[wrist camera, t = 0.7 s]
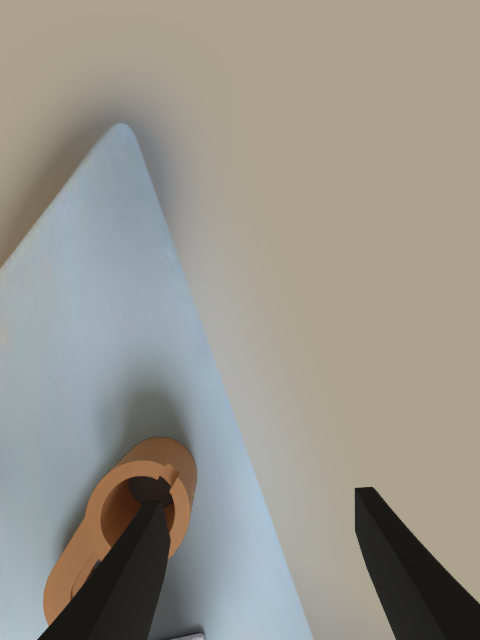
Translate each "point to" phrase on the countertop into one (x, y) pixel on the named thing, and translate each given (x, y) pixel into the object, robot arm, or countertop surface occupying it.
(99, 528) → the bracket
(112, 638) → the robot arm
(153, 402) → the countertop surface
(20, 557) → the countertop surface
